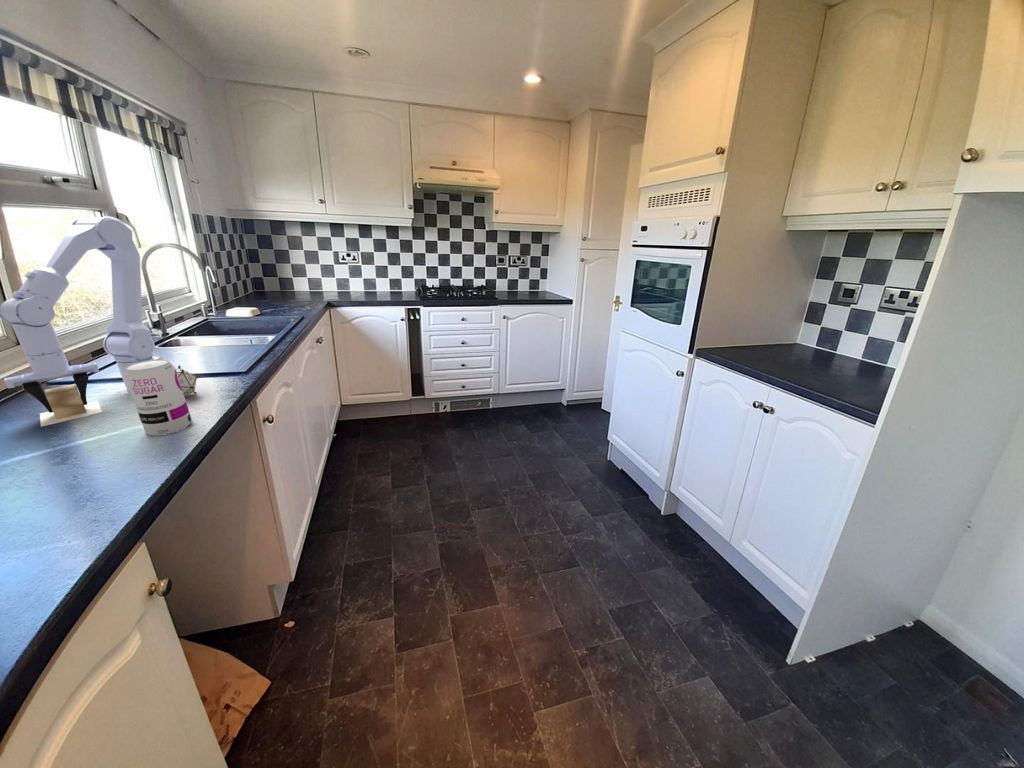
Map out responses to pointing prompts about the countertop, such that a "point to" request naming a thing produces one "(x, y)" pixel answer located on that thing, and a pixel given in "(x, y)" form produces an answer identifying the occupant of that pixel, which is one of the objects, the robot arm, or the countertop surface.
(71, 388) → the oak cube
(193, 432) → the countertop surface
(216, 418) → the countertop surface
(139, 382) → the supplement can
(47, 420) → the tile
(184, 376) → the game die
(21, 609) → the countertop surface
